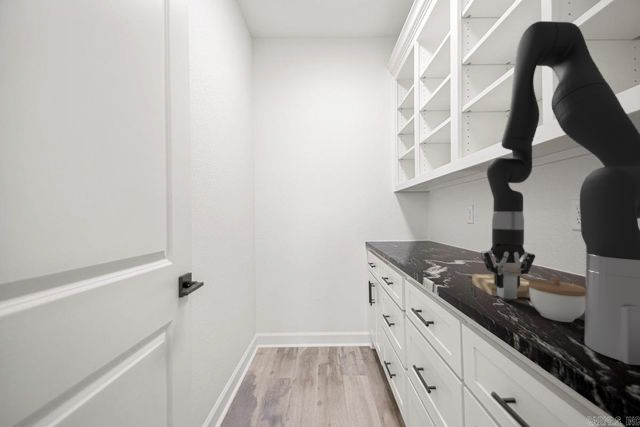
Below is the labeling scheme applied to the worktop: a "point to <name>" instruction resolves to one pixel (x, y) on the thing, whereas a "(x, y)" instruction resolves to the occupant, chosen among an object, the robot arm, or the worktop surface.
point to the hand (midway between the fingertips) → (506, 287)
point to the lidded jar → (557, 299)
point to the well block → (488, 286)
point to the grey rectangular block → (508, 281)
